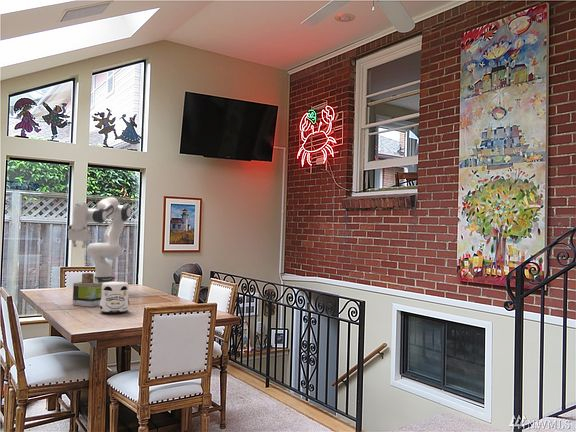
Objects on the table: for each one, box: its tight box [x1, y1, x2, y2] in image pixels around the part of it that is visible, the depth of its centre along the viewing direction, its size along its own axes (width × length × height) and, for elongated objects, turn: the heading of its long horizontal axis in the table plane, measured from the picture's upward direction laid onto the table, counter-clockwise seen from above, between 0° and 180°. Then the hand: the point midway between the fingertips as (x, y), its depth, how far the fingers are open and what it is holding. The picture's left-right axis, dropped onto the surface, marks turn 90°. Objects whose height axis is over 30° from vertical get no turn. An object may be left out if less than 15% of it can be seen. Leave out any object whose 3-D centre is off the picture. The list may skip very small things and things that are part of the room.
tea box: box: [72, 281, 102, 308], centre depth 324 cm, size 15×10×15 cm, turn 71°
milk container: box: [99, 281, 130, 315], centre depth 302 cm, size 17×17×18 cm
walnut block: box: [81, 272, 95, 283], centre depth 324 cm, size 5×5×6 cm
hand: (79, 247), depth 332 cm, fingers open, 8 cm apart
